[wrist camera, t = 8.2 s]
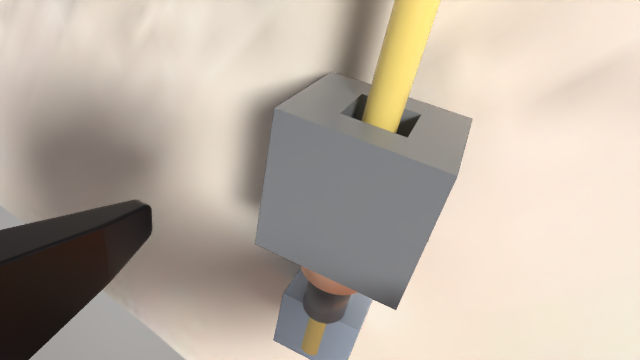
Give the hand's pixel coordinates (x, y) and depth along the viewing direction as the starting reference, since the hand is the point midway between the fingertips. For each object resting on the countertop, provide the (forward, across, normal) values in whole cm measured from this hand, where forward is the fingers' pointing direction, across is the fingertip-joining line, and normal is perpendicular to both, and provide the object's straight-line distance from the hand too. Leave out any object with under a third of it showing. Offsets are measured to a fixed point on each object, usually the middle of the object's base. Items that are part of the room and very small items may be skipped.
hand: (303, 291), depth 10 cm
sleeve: (+7, 0, 0) cm, 7 cm away
